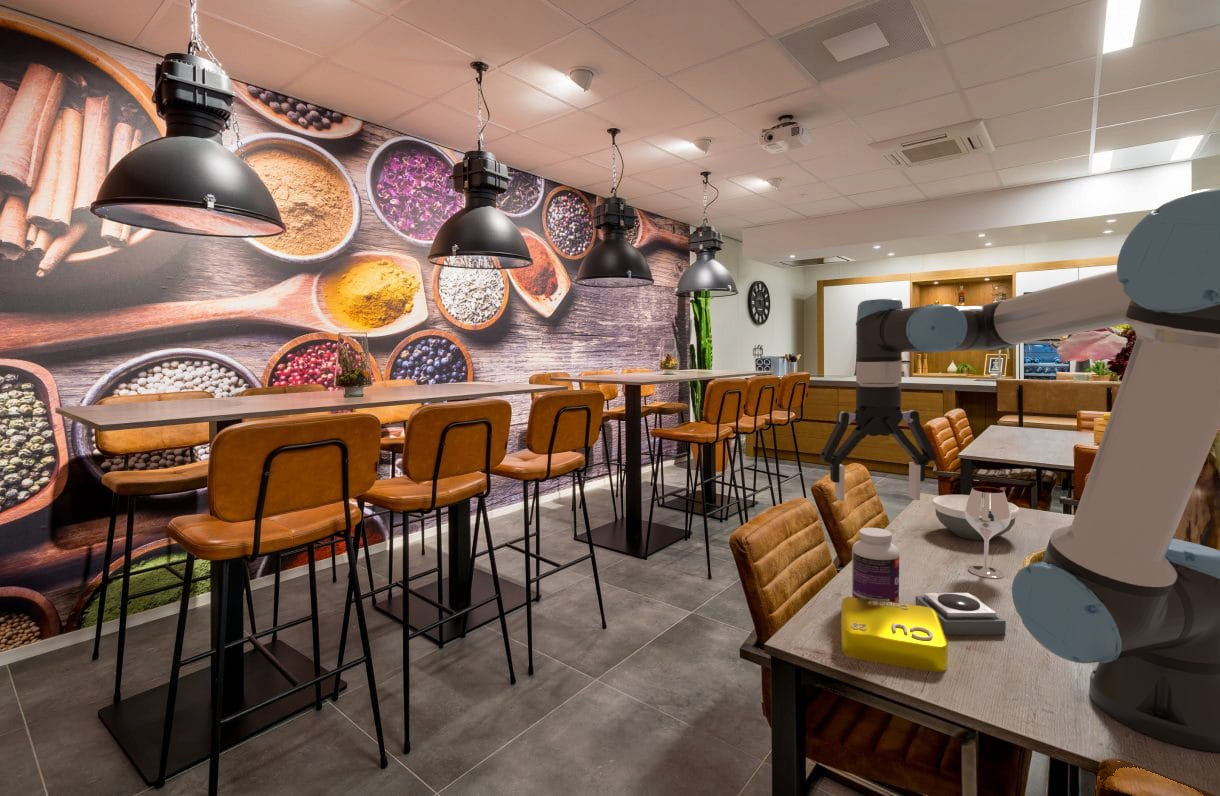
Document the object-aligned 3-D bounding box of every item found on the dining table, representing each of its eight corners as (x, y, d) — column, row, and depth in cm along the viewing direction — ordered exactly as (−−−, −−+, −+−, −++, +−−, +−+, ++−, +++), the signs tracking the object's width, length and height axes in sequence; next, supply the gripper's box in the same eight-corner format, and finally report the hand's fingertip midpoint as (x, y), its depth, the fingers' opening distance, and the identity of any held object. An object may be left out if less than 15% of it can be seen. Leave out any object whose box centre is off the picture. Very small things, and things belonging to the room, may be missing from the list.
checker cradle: (1005, 634, 96) (1005, 618, 96) (944, 635, 97) (945, 618, 97) (970, 608, 106) (970, 593, 106) (915, 608, 107) (915, 593, 106)
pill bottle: (904, 618, 103) (905, 539, 102) (857, 614, 105) (857, 538, 104) (891, 598, 111) (893, 526, 110) (847, 596, 113) (848, 524, 112)
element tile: (934, 630, 99) (935, 604, 99) (949, 677, 85) (950, 646, 85) (841, 617, 105) (841, 592, 104) (841, 658, 91) (841, 629, 91)
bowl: (918, 524, 157) (918, 494, 156) (988, 523, 156) (989, 493, 155) (956, 547, 138) (957, 514, 138) (1036, 546, 137) (1037, 513, 137)
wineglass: (969, 578, 120) (971, 493, 119) (958, 563, 128) (960, 484, 126) (1015, 581, 118) (1017, 495, 116) (1000, 567, 125) (1003, 486, 124)
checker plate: (995, 624, 97) (996, 611, 97) (947, 624, 98) (947, 611, 97) (968, 603, 105) (968, 591, 105) (923, 603, 106) (924, 592, 105)
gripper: (937, 382, 108) (934, 493, 110) (803, 385, 109) (802, 494, 111) (959, 384, 101) (956, 503, 102) (815, 387, 102) (815, 505, 103)
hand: (876, 499), depth 107 cm, fingers open, 13 cm apart
